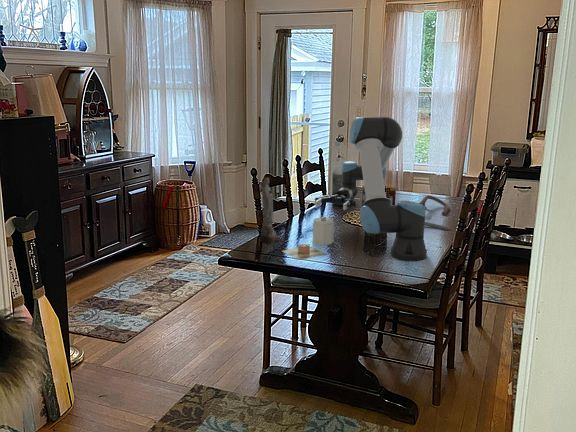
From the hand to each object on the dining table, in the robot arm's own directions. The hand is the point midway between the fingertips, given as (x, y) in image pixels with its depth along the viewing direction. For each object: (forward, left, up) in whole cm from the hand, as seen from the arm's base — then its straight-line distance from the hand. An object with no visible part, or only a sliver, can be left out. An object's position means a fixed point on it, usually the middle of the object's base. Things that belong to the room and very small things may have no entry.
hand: (329, 205), depth 256 cm
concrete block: (+56, -50, -16) cm, 77 cm away
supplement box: (+24, -52, -16) cm, 59 cm away
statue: (+12, +26, -16) cm, 33 cm away
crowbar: (-2, -51, -17) cm, 54 cm away
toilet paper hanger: (+12, -81, -16) cm, 84 cm away
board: (-14, +24, -16) cm, 32 cm away
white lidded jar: (-6, +8, -16) cm, 18 cm away
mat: (-6, +8, -16) cm, 19 cm away
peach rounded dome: (-14, +24, -15) cm, 31 cm away
